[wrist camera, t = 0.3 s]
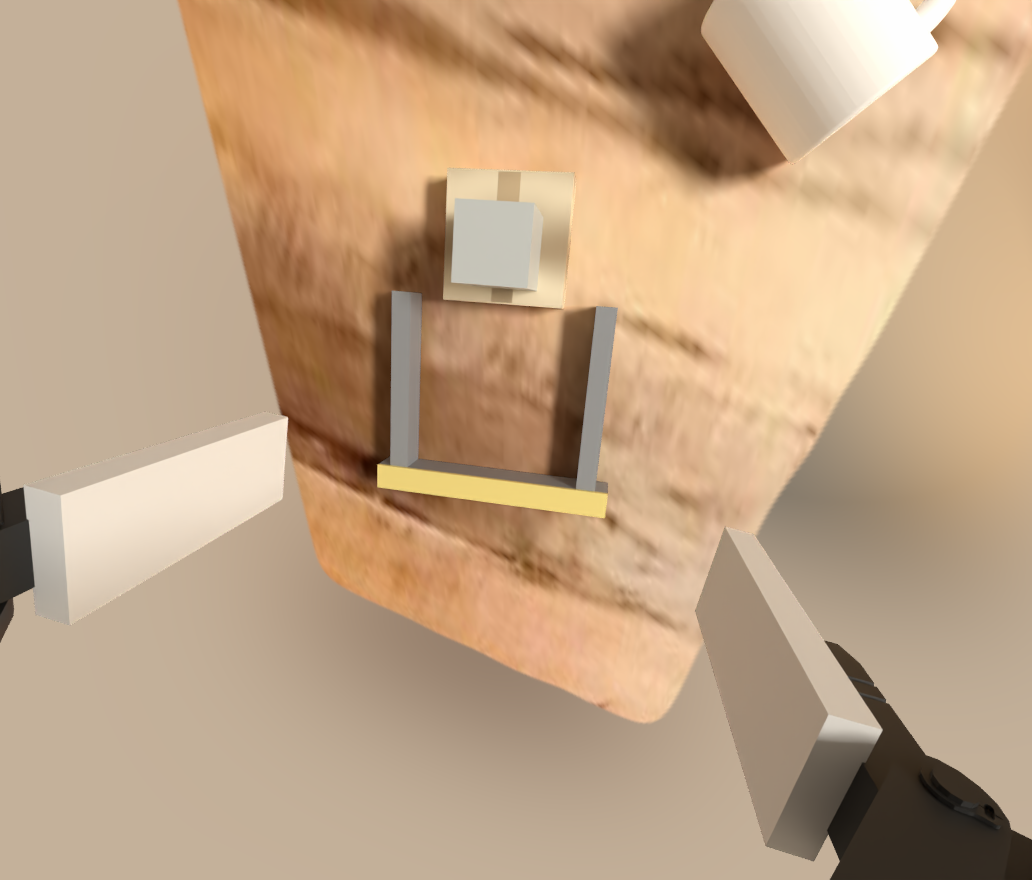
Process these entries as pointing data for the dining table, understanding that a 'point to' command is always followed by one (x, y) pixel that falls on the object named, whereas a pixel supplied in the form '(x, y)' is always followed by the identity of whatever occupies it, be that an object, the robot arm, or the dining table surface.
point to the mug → (818, 58)
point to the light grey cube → (496, 244)
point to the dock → (483, 481)
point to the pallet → (557, 210)
